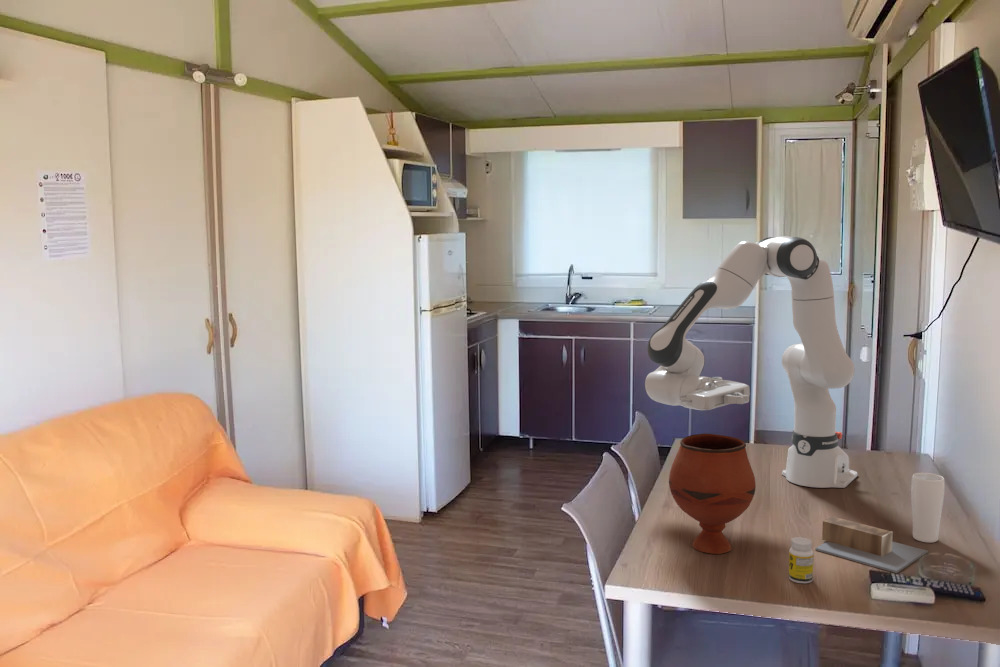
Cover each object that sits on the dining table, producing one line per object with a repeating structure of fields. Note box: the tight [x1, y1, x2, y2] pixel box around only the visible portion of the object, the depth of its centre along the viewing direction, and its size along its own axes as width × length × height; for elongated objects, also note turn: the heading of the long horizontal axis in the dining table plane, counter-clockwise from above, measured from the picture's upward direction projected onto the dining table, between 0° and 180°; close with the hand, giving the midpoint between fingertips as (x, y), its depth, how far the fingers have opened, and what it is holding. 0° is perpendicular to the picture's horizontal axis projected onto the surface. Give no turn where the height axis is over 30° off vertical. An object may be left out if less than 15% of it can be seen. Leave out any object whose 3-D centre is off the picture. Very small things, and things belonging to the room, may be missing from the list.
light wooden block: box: [821, 516, 894, 557], centre depth 191 cm, size 4×4×14 cm
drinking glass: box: [910, 472, 945, 544], centre depth 194 cm, size 7×7×15 cm
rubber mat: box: [815, 541, 928, 574], centre depth 189 cm, size 16×18×1 cm
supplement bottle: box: [788, 536, 814, 584], centre depth 174 cm, size 5×5×8 cm
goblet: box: [668, 432, 757, 555], centre depth 191 cm, size 19×19×25 cm
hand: (746, 400), depth 211 cm, fingers closed
